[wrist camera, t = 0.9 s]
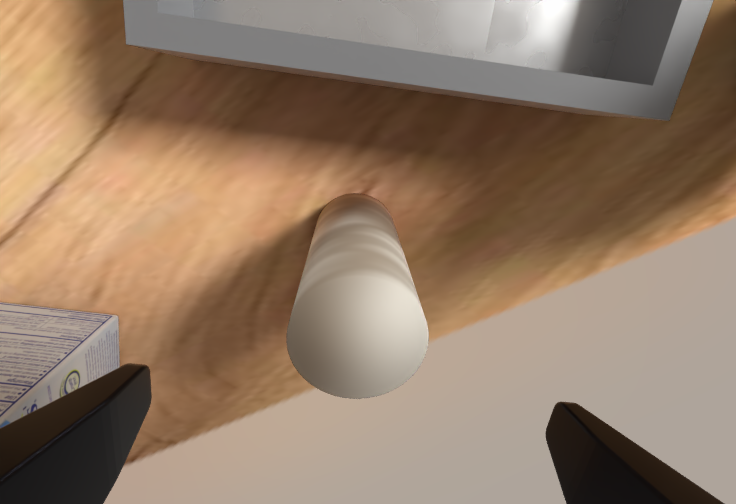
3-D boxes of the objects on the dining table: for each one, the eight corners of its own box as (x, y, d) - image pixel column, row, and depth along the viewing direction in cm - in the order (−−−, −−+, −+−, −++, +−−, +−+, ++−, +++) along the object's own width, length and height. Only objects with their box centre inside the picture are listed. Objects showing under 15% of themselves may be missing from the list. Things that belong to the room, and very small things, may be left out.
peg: (400, 198, 20) (440, 284, 11) (388, 271, 22) (415, 403, 12) (319, 188, 20) (290, 268, 11) (312, 264, 21) (282, 393, 12)
